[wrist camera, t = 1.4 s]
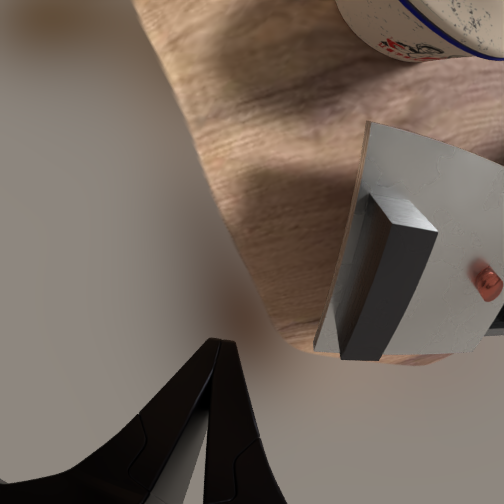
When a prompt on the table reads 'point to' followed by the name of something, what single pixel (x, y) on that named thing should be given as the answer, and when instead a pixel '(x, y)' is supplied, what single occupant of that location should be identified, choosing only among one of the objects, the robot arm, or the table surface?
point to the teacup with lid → (428, 27)
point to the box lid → (416, 251)
